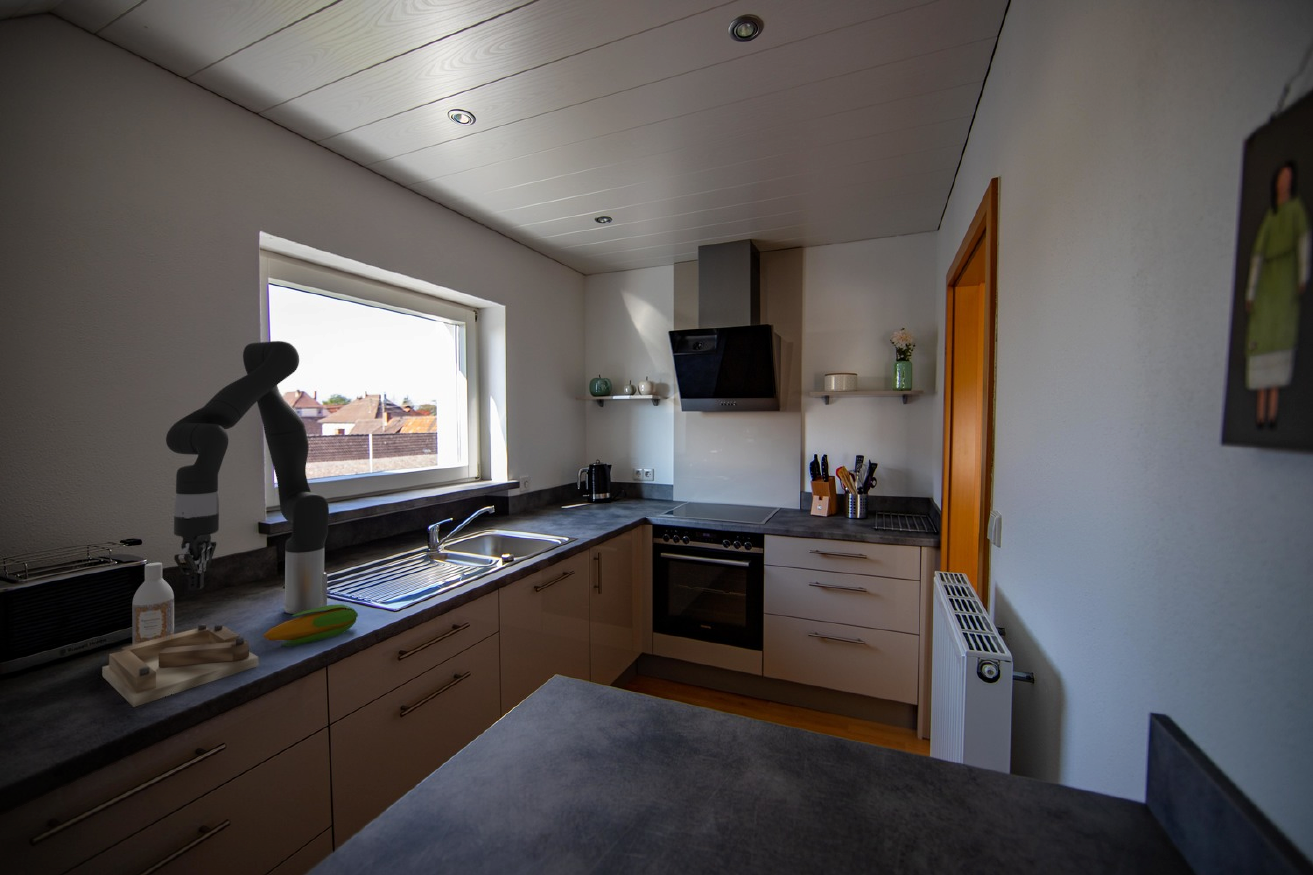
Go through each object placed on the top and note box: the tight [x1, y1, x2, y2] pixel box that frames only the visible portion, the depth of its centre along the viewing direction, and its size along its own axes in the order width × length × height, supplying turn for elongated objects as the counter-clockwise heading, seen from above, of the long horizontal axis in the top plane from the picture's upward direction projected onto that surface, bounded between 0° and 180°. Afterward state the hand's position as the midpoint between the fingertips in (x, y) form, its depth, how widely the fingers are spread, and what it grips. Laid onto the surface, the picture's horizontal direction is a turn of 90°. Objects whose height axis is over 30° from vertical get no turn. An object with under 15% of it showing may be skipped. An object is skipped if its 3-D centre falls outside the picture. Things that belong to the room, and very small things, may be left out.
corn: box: [263, 604, 359, 647], centre depth 130 cm, size 7×8×20 cm
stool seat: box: [101, 623, 259, 708], centre depth 112 cm, size 20×20×6 cm
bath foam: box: [131, 562, 175, 645], centre depth 121 cm, size 7×7×20 cm
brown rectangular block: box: [159, 636, 250, 668], centre depth 112 cm, size 15×3×4 cm, turn 108°
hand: (195, 589), depth 117 cm, fingers closed
